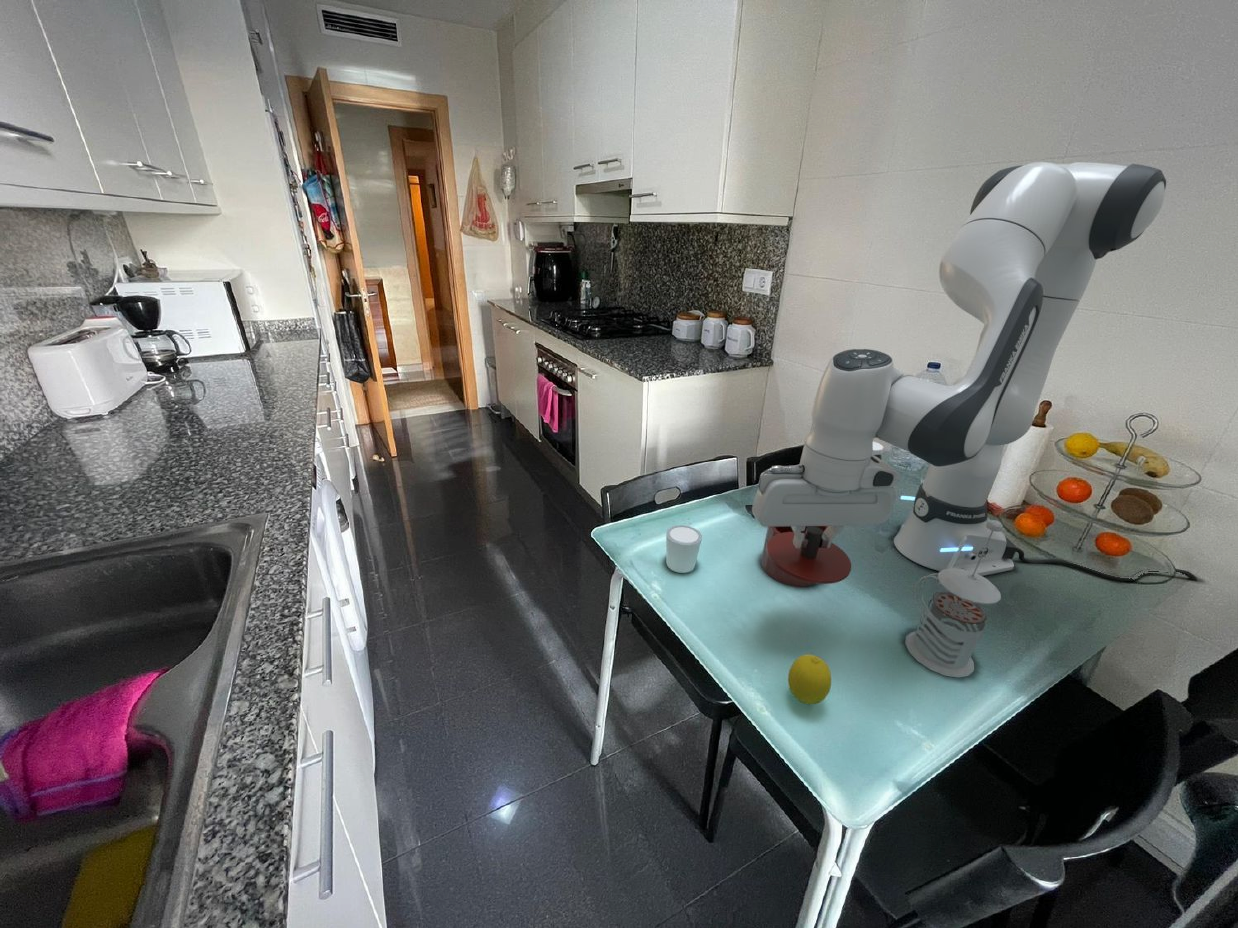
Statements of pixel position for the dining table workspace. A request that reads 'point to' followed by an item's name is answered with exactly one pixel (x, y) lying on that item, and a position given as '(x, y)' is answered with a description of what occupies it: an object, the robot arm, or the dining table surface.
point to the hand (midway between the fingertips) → (810, 546)
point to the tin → (774, 570)
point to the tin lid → (809, 558)
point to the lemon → (809, 679)
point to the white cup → (682, 548)
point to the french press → (960, 603)
